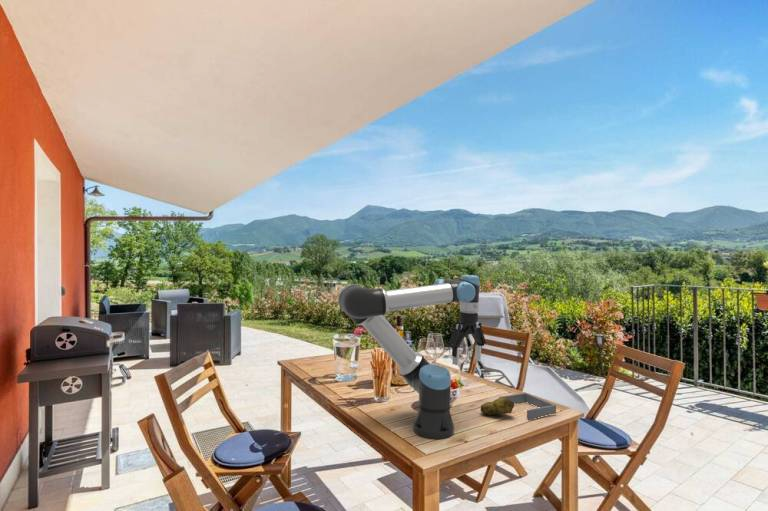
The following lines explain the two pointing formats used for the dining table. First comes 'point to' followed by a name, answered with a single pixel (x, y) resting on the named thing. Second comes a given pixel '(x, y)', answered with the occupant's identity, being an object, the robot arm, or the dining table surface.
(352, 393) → the dining table surface
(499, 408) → the potato
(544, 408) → the box
